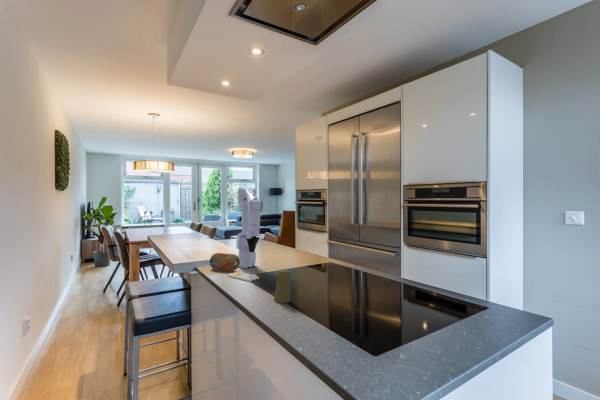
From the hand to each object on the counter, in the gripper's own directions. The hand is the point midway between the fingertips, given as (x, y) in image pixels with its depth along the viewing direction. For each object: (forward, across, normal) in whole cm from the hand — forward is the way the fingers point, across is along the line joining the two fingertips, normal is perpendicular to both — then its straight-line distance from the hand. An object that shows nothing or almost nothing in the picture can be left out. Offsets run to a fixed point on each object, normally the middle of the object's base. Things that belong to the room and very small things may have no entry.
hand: (251, 252), depth 146 cm
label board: (+10, +10, 0) cm, 14 cm away
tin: (+11, -1, -14) cm, 17 cm away
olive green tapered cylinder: (+11, +34, +24) cm, 43 cm away
